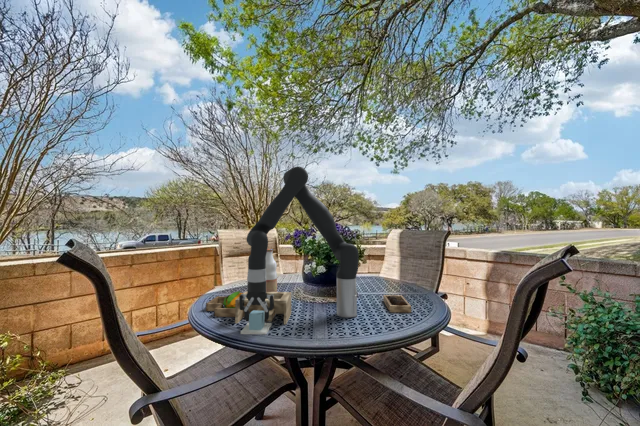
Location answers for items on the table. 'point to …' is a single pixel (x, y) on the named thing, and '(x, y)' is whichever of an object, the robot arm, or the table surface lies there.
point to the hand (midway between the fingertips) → (256, 320)
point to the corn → (231, 300)
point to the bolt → (396, 301)
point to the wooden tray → (397, 307)
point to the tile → (259, 332)
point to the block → (256, 320)
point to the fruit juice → (271, 272)
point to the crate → (280, 306)
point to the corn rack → (220, 307)
